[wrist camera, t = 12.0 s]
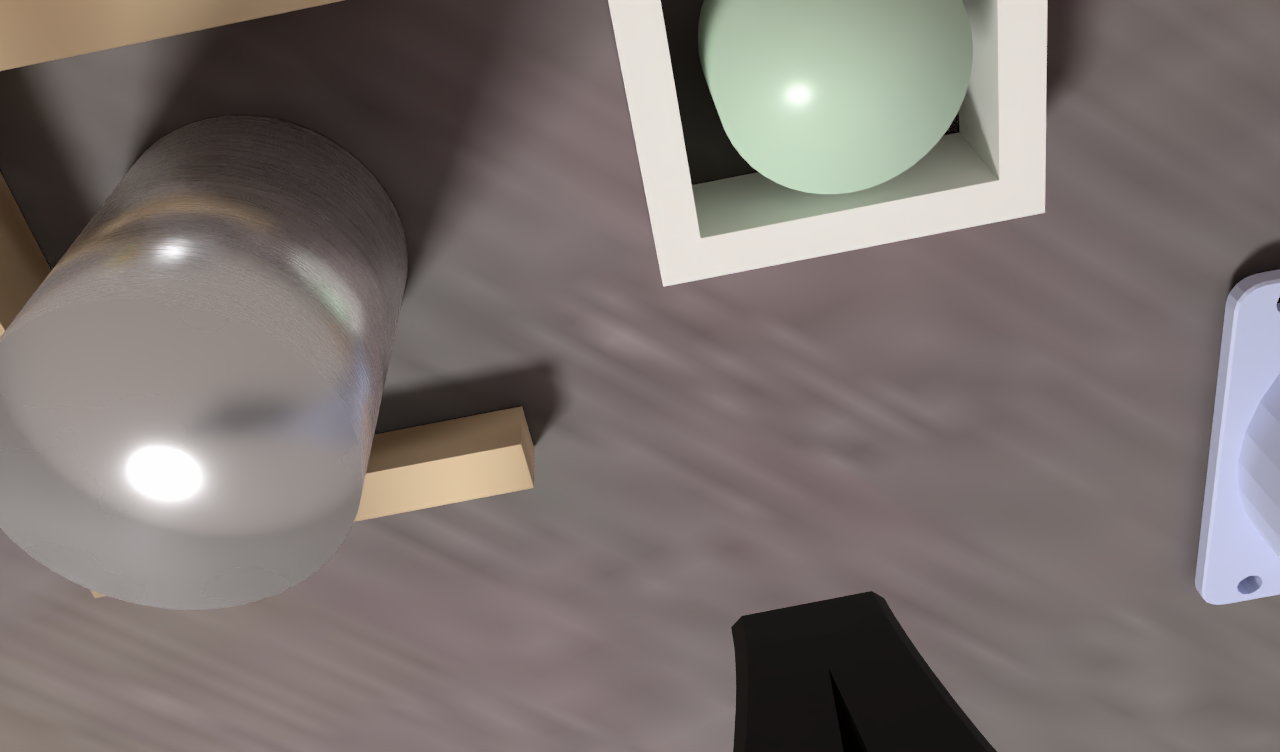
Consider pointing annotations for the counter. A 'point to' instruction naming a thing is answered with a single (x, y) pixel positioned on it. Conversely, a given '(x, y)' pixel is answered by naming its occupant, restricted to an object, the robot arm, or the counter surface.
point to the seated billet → (205, 370)
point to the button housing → (832, 223)
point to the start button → (835, 84)
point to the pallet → (15, 268)
